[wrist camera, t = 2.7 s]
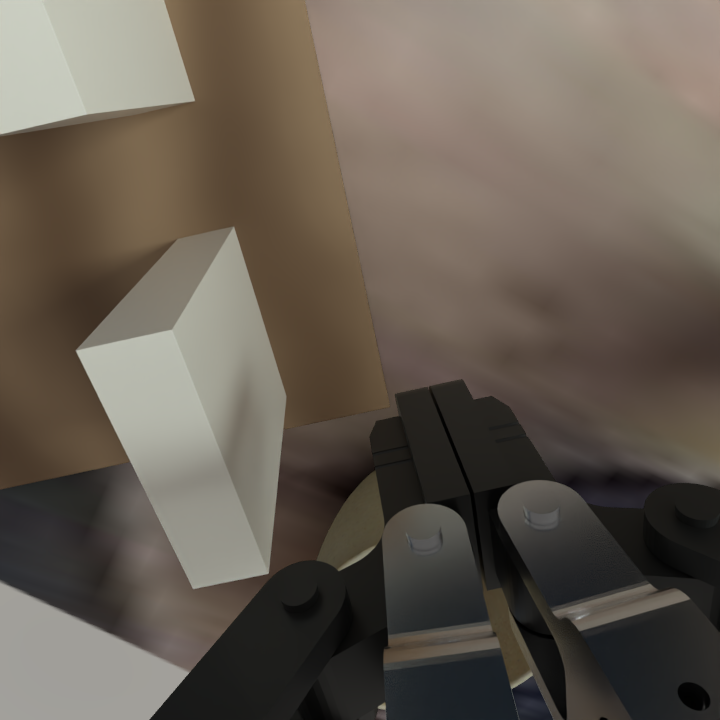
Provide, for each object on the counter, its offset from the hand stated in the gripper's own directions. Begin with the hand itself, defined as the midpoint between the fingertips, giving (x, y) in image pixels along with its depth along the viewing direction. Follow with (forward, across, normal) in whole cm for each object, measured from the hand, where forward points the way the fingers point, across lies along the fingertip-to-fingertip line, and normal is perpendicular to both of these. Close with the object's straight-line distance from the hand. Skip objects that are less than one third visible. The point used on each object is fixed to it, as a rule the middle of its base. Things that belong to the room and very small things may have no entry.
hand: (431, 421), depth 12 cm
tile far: (+9, +6, 0) cm, 11 cm away
